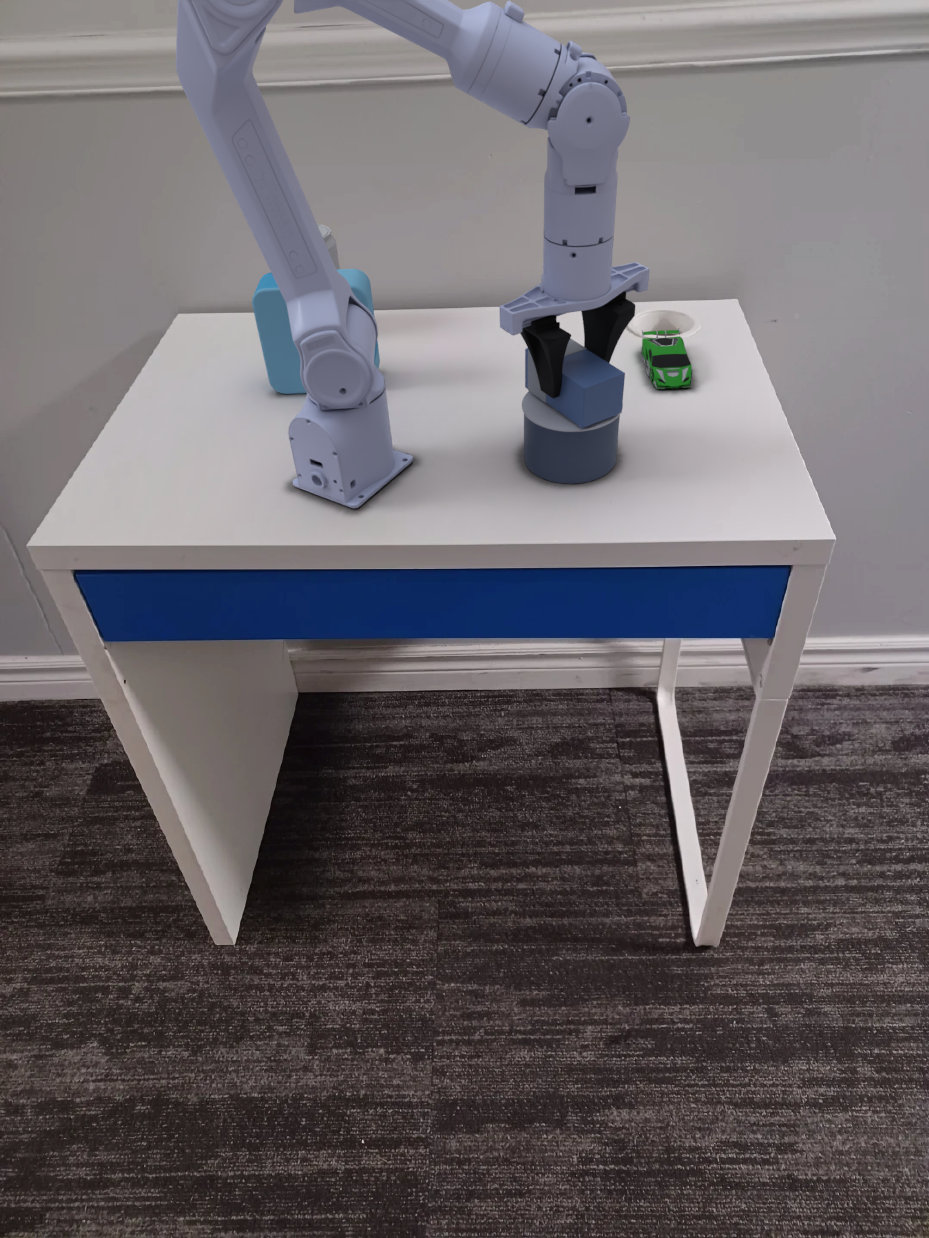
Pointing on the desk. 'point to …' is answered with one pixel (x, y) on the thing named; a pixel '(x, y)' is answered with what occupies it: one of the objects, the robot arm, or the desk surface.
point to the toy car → (666, 360)
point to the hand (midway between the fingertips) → (572, 384)
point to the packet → (582, 386)
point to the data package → (277, 330)
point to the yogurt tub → (566, 444)
